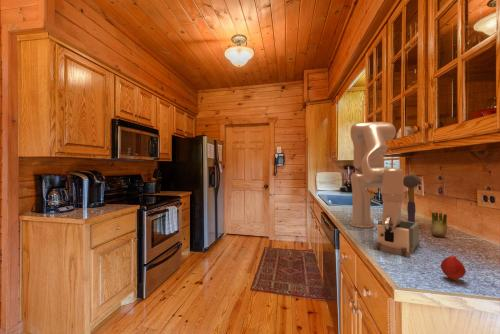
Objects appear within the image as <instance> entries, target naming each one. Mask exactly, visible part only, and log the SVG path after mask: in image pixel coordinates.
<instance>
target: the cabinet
mask: <svg viewBox="0 0 500 334" xmlns="http://www.w3.org/2000/svg"><path fill="white" fill-rule="evenodd" d="M379 224H380V225H383V224H382V220H381V221H379V222H378V223H377V225H379ZM391 225H392V224H391ZM400 228H405V229H409V251H407V248H401V250H400V249H396V248H391V247H386V246H382V245H381V243H379V242H376V243H374V244H373V250H376V249H377V251H380V252H384V253H385V252H386V253H389V254H393V255H397V256H401V257H402V256H403V257H405V258H411V254H414V252H415V251H416V250H417V249H418V247H419V246H420V223H419V222H416V221H415V222H408V220H401V222H400Z"/></svg>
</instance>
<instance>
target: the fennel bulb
mask: <svg viewBox="0 0 500 334" xmlns="http://www.w3.org/2000/svg"><path fill="white" fill-rule="evenodd" d="M447 217H448V215H447V213H441V212H435V211H434V212H431V224H430V234H431V235H432V236H434V237H438V238H446V235H447V232H448V220H447V219H448V218H447Z"/></svg>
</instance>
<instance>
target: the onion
mask: <svg viewBox="0 0 500 334" xmlns="http://www.w3.org/2000/svg"><path fill="white" fill-rule="evenodd" d="M440 269H441V271H442V273H444V275H445V276H446V277H448V278H449V279H450V280H452V281H457V280H459V279H461V278H463V277H464V276H465V274H466V272H467V270H466V267H465V264H463V263H462V261H460V260H459V258H457V256H456V255H455V254H451V255H450V256H448V257H446V258H444V259H443V260H442V261H441V263H440Z"/></svg>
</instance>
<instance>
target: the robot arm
mask: <svg viewBox="0 0 500 334" xmlns="http://www.w3.org/2000/svg"><path fill="white" fill-rule="evenodd" d="M396 131H397V130H396V127H395V126H394V124H393V123H391V122H385V121H374V122H373V121H368V122H367V121H365V122H357V123H354V124H352V125H351V127H350V131H349V132H350V133H349V134H350V138H351V141H352V144H353V167H354V168H355V169H356V170H361V171H355V172H353V173H352V174H351V175H350V184H351V191H352V220H351V221H350V222H349V225H351V226H352V227H354V228H355V227H356V228H361V229H362V228H364V229H371V228H374V226H375V224H374V223H373V222H371V220H372V217H371V194H370V193H369V191H368V190H367V189H378V188H379V189H380V188H381V189H382V190H381V191H382V192H381V193H382V194H381V201H382V202H383V206H382V217H381V221H382V224H383V225H385V241H388V242H394V232H393V229H394V227H399V228H400V222H401V221H402V208H401V206H402V203H404V184H403V179H404V170H403V169H401V168H395V167H385V158H384V156H383V155H384V154H386V152H387V151H388V145H387V142H386V141H390V140H391V141H392V140H393V139H395V137H396V134H397V132H396ZM391 224H392V225H391Z"/></svg>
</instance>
